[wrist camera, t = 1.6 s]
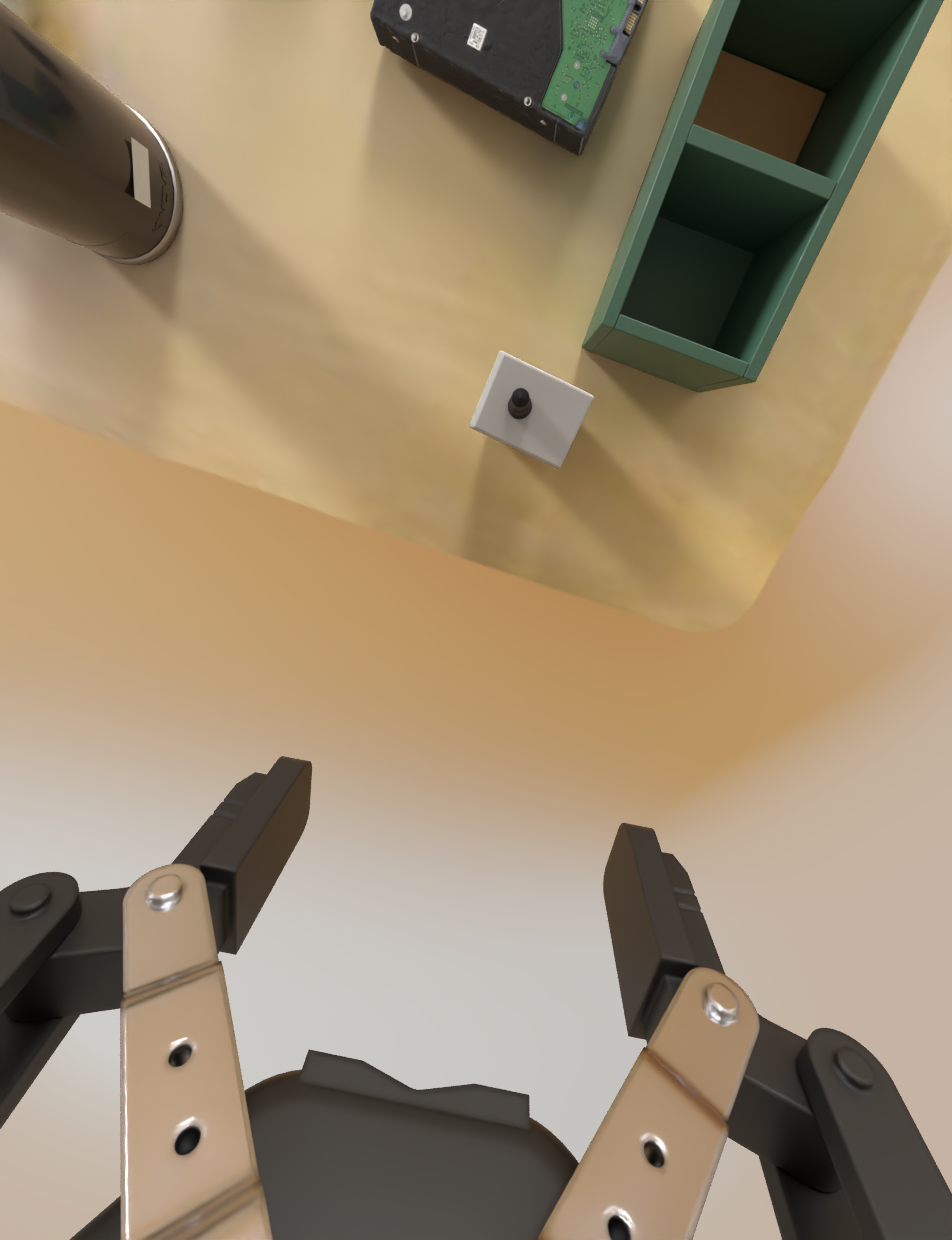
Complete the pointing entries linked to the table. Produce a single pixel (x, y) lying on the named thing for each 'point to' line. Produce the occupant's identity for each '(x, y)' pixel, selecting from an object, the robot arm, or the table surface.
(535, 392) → the vintage mobile phone
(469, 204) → the table surface
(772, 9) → the caddy
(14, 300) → the table surface
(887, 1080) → the robot arm
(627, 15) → the disk drive
